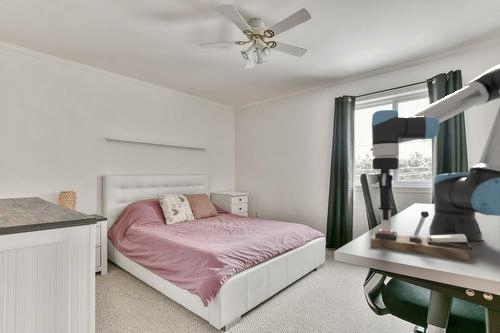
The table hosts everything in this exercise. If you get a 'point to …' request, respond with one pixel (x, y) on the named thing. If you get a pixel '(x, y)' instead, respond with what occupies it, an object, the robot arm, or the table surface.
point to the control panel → (421, 245)
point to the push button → (386, 231)
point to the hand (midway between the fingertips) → (386, 229)
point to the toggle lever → (421, 222)
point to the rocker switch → (449, 238)
